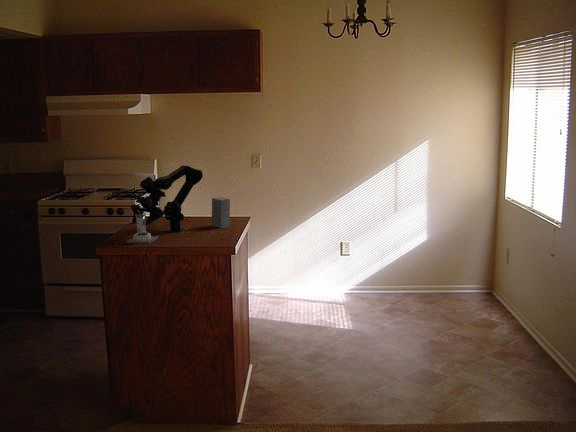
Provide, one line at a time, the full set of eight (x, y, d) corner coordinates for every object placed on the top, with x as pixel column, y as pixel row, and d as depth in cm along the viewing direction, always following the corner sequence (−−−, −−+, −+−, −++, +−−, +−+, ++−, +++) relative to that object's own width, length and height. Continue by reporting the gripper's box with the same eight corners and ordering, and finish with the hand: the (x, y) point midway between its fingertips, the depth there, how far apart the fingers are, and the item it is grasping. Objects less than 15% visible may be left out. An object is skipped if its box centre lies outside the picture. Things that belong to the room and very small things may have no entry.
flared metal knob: (146, 237, 323) (144, 212, 320) (148, 239, 319) (146, 214, 316) (136, 238, 321) (134, 213, 319) (138, 240, 317) (135, 215, 314)
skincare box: (211, 226, 347) (210, 198, 344) (221, 224, 352) (220, 196, 349) (221, 228, 341) (219, 199, 338) (231, 226, 346) (230, 197, 343)
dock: (136, 237, 327) (135, 231, 326) (158, 238, 324) (157, 232, 324) (126, 242, 316) (126, 236, 315) (149, 243, 314) (148, 237, 313)
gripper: (131, 188, 323) (116, 213, 317) (158, 191, 313) (143, 217, 306) (144, 201, 331) (129, 226, 325) (170, 203, 321) (156, 229, 314)
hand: (139, 224), depth 317 cm, fingers open, 9 cm apart
